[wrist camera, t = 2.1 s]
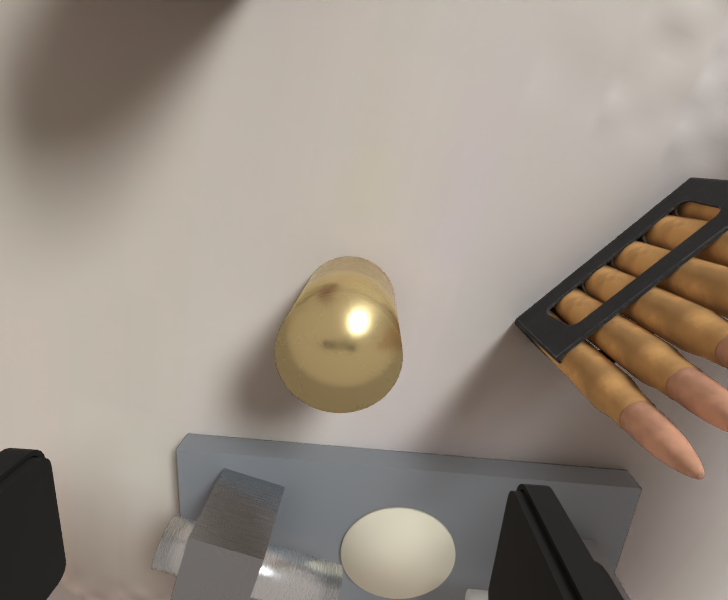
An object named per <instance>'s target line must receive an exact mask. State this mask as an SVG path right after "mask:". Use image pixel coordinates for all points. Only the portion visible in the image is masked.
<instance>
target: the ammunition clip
mask: <svg viewBox="0 0 728 600" xmlns="http://www.w3.org/2000/svg"><path fill="white" fill-rule="evenodd" d="M621 314H622V315H621ZM720 315H722V316H724V317H727V318H728V180H717V179H704V178H690V179H688V180H687V181H686V182H685V183H683V184H682V185H681V186H680V187H678V188H677V189H676V190H675V191H674V192H672V193H671V194H670V195H669V196H667V197H666V198H665V199H664V200H662V201H661V202H660V203H659V204H657V205H656V206H655V207H654V208H653V209H651V210H650V211H649V212H648V213H646V214H645V215H644V216H643V217H641V218H640V219H639V220H638V221H637V222H635V223H634V224H633V225H632V226H630V227H629V228H628V229H627V230H625V231H624V232H623V233H622V234H620V235H619V236H618V237H617V238H616V239H614V240H613V241H612V242H611V243H609V244H608V245H607V246H606V247H604V248H603V249H602V250H601V251H600V252H598V253H597V254H596V255H595V256H593V257H592V258H591V259H590V260H588V261H587V262H586V263H585V264H583V265H582V266H581V267H580V268H579V269H577V270H576V271H575V272H574V273H572V274H571V275H570V276H569V277H567V278H566V279H565V280H564V281H563V282H561V283H560V284H559V285H558V286H556V287H555V288H554V289H553V290H551V291H550V292H549V293H548V294H546V295H545V296H544V297H543V298H542V299H540V300H539V301H538V302H537V303H535V304H534V305H533V306H532V307H530V308H529V309H528V310H527V311H525V312H524V313H523V314H522V315H521V316H519V317H518V318H517V319H516V322H515V324H516V325H517V326H518V327H519V328H520V329H521V331H522V332H523V333H524V334H525V335H526V336H527V337H528V338H529V339H530V340H531V341H532V343H533V344H534V345H535V346H536V347H537V348H539V349H540V350H541V351H542V352H543V353H544V354H545V355H546V356H547V357H548V358H549V359H550V360H552V361H553V362H554V363H555V365H556V366H557V367H558V368H559V369H560V370H561V371H562V372H563V373H564V374H565V375H566V376H567V377H568V379H569V380H570V381H571V382H572V383H573V384H574V385H575V386H576V387H577V388H578V389H579V390H580V391H581V393H582V394H583V395H584V396H585V397H586V398H587V399H588V400H589V401H590V402H591V403H592V404H593V405H594V406H595V407H596V408H597V409H599V410H600V411H601V412H603V413H604V414H606V415H607V416H609V417H611V418H612V419H613V420H614V421H615V422H616V423H617V424H618V425H619V426H620V427H621V428H622V429H624V430H625V431H627V432H628V433H629V434H630V435H631V437H632V438H633V439H634V440H636V441H637V442H638V443H639V444H640V445H641V446H642V447H644V448H645V449H646V450H647V451H649V452H650V453H651V454H652V455H654V456H655V457H656V458H658V459H659V460H661V461H662V462H664V463H665V464H667V465H668V466H670V467H672V468H673V469H675V470H677V471H678V472H680V473H682V474H685V475H687V476H690V477H692V478H696V479H703V478H704V476H705V473H704V469H703V466H702V464H701V462H700V460H699V458H698V456H697V454H696V453H695V451H694V450H693V448H692V446H691V445H690V443H689V442H688V441H687V439H686V438H685V437H684V435H683V434H682V433H681V432H680V431H679V429H678V428H677V427H676V426H675V425H674V424H673V423H672V422H671V421H670V420H669V419H668V418H667V417H666V416H665V415H664V414H663V413H662V412H660V411H659V410H658V409H657V408H656V406H655V405H654V404H653V403H652V402H651V401H650V400H649V399H648V398H647V397H646V396H645V395H644V394H643V393H642V392H641V391H640V389H639V388H638V386H637V385H636V383H635V382H634V381H633V380H632V379H631V378H630V377H629V376H628V375H627V374H626V373H624V372H623V371H622V370H621V369H620V368H618V367H617V366H616V365H615V364H614V363H615V362H617V363H618V364H619V365H621V366H622V367H623V368H624V369H626V370H627V371H628V372H629V373H631V374H632V375H633V376H634V377H636V378H637V379H638V380H640V381H641V382H643V383H645V384H647V385H649V386H652V387H654V388H656V389H658V390H659V391H661V392H662V393H664V394H665V395H667V396H668V397H669V398H671V399H672V400H675V401H677V402H678V403H679V404H681V405H682V406H683V407H685V408H686V409H687V410H689V411H690V412H692V413H693V414H695V415H696V416H698V417H700V418H701V419H703V420H705V421H706V422H708V423H710V424H712V425H714V426H716V427H718V428H720V429H722V430H725V431H727V432H728V390H727V389H725V388H724V387H723V386H722V385H720V384H719V383H718V382H716V381H715V380H714V379H712V378H711V377H709V376H707V375H706V374H704V373H703V372H702V371H701V370H700V369H699V368H697V367H696V366H694V365H693V364H691V363H690V362H689V361H687V360H686V359H685V358H684V357H683V356H682V355H681V354H680V353H679V352H678V351H677V350H676V349H675V348H674V347H673V346H671V345H670V344H668V343H667V342H665V341H664V340H666V341H668V342H670V343H671V344H673V345H675V346H676V347H678V348H680V349H682V350H684V351H686V352H689V353H692V354H695V355H698V356H702V357H704V358H706V359H708V360H710V361H712V362H714V363H716V364H718V365H720V366H723V367H726V368H728V321H727V320H725V319H724V318H723V317H722V316H720ZM626 317H627V318H626ZM628 318H629V319H630V320H629V319H628ZM631 320H632V321H631ZM633 321H634V322H635V323H634V322H633ZM636 323H637V324H636ZM654 334H656V335H658V336H659V337H661V338H663V339H664V340H662V339H661V338H659V337H657V336H656V335H654ZM586 338H587V339H588V340H589V341H590V342H592V343H593V344H594V345H595V346H597V347H598V348H599V349H600V350H599V351H598V350H597V349H596V348H595V347H593V346H592V345H591V344H590V343H589V342H587V341H586V340H585V339H586Z"/></svg>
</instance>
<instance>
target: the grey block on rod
mask: <svg viewBox="0 0 728 600" xmlns="http://www.w3.org/2000/svg"><path fill="white" fill-rule="evenodd" d="M284 488H285V486H281V485H278V484H275V483H272V482H268V481H265V480H262V479H259V478H255V477H252V476H249V475H246V474H242V473H239V472H236V471H233V470H230V469H226V468H224V469H223V471H222V473H221V475H220V477H219V479H218V480H217V482H216V484H215V486H214V488H213V490H212V492H211V494H210V496H209V498H208V500H207V502H206V504H205V506H204V508H203V510H202V512H201V514H200V516H199V518H198V520H197V522H196V521H192V520H189V519H185V518H182V517H179V516H174V517H173V518H172V520H171V521H170V523H169V525H168V527H167V529H166V530H165V532H164V534H163V537H162V539H161V541H160V543H159V546H158V548H157V551H156V553H155V556H154V559H153V562H152V569H153V570H157V571H160V572H164V573H167V574H171V575H174V576H177V578H176V582H175V585H174V589H173V592H172V595H171V599H170V600H249V599H250V597H251V598H255V599H258V600H338V598H339V594H340V590H341V584H342V577H343V566H342V565H340V564H337V563H333V562H330V561H327V560H323V559H320V558H317V557H313V556H310V555H307V554H303V553H300V552H296V551H293V550H290V549H286V548H283V547H280V546H276V545H273V544H270V543H269V540H270V537H271V533H272V530H273V526H274V523H275V519H276V516H277V512H278V509H279V506H280V502H281V499H282V495H283V492H284Z"/></svg>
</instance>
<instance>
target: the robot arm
mask: <svg viewBox="0 0 728 600" xmlns="http://www.w3.org/2000/svg"><path fill="white" fill-rule="evenodd" d="M65 566H66V559H65V552H64V545H63V539H62V532H61V525H60V519H59V512H58V506H57V499H56V492H55V486H54V479H53V472H52V466H51V462H50V460H49V459H46V458H45V456H44V454H43V453H42V452H41V451H39V450H32V449H17V448H8V449H4V450H3V451H1V452H0V600H46V599H47V598H48V597H49V595H50V594H51V593H52V591H53V590H54V589H55V587H56V586H57V585H58V583H59V582H60V580H61V578H62V576H63V574H64V571H65ZM488 600H624V599H623V597H622V595H621V594H620V592H619V590H618V589H617V587H616V585H615V584H614V582H613V580H612V579H611V577H610V575H609V574H608V573H607V571H606V570H605V569H604V567H603V566H602V565H601V564H599V563H598V562H597V561H594V559H593V558H592V556H591V554H590V553H589V551H588V549H587V548H586V546H585V544H584V542H583V541H582V539H581V537H580V536H579V534H578V532H577V531H576V529H575V527H574V525H573V524H572V522H571V520H570V519H569V517H568V515H567V514H566V512H565V510H564V508H563V507H562V505H561V503H560V502H559V500H558V498H557V496H556V495H555V493H554V491H553V490H552V489H551V487H549V486H547V485H532V484H519V486H518V487H517V490H516V491H510V492H509V494H508V498H507V502H506V507H505V512H504V517H503V522H502V527H501V531H500V536H499V541H498V546H497V551H496V555H495V560H494V565H493V570H492V575H491V579H490V584H489V589H488Z"/></svg>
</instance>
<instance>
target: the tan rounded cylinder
mask: <svg viewBox="0 0 728 600" xmlns="http://www.w3.org/2000/svg"><path fill="white" fill-rule="evenodd" d="M402 361H403V351H402V343H401V336H400V329H399V322H398V315H397V308H396V301H395V294H394V290H393V287H392V284H391V282H390V280H389V278H388V277H387V275H386V274H385V273H384V272H383V271H382V270H381V269H380V268H379V267H378V266H377V265H375V264H374V263H372V262H370V261H368V260H365V259H362V258H359V257H339V258H335V259H333V260H330V261H328V262H326V263H324V264H323V265H322V266H320V267H319V268H318V269H317V270H316V271H315V272H314V273H313V275H312V276H311V278H310V279H309V281H308V283H307V284H306V286H305V287H304V289H303V291H302V292H301V294H300V296H299V297H298V299H297V301H296V302H295V304H294V306H293V307H292V309H291V311H290V312H289V314H288V316H287V317H286V319H285V321H284V322H283V324H282V326H281V328H280V330H279V332H278V335H277V338H276V342H275V362H276V367H277V370H278V373H279V375H280V377H281V379H282V381H283V382H284V384H285V385H286V387H287V388H288V389H289V390H290V391H291V393H292V394H294V395H295V396H296V397H297V398H298V399H300V400H301V401H302V402H304V403H306V404H307V405H309V406H311V407H314V408H316V409H319V410H323V411H326V412H333V413H348V412H354V411H359V410H362V409H365V408H367V407H369V406H371V405H373V404H375V403H376V402H378V401H380V400H381V399H382V398H383V397H384V396H386V394H387V393H388V392H389V391H390V390H391V389H392V387H393V386H394V384H395V383H396V381H397V379H398V377H399V374H400V371H401V367H402Z"/></svg>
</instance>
